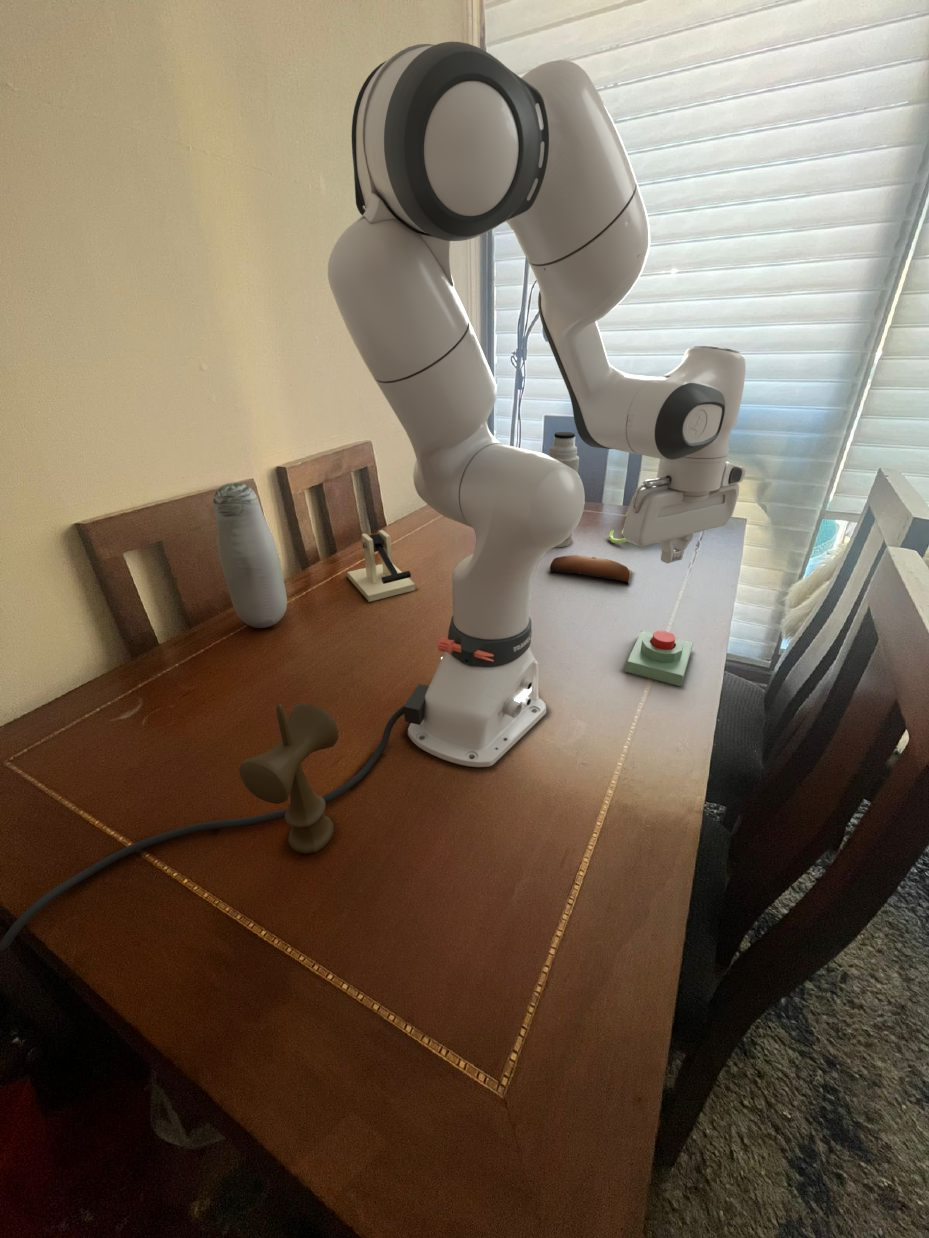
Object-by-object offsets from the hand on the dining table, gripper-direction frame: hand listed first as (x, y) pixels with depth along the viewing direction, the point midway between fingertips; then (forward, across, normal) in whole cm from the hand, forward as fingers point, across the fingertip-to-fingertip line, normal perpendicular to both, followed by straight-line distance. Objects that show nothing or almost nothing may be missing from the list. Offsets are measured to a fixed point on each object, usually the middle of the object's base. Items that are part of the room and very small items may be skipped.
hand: (670, 560), depth 81 cm
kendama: (+20, -62, -6) cm, 65 cm away
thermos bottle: (+18, +20, +52) cm, 59 cm away
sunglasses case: (+18, +15, +32) cm, 40 cm away
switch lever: (+12, -30, +48) cm, 58 cm away
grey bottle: (+20, -57, +48) cm, 77 cm away
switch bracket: (+19, -30, +52) cm, 63 cm away
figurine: (+18, +46, +44) cm, 66 cm away
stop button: (+15, 0, -2) cm, 15 cm away
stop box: (+19, 0, -2) cm, 19 cm away
